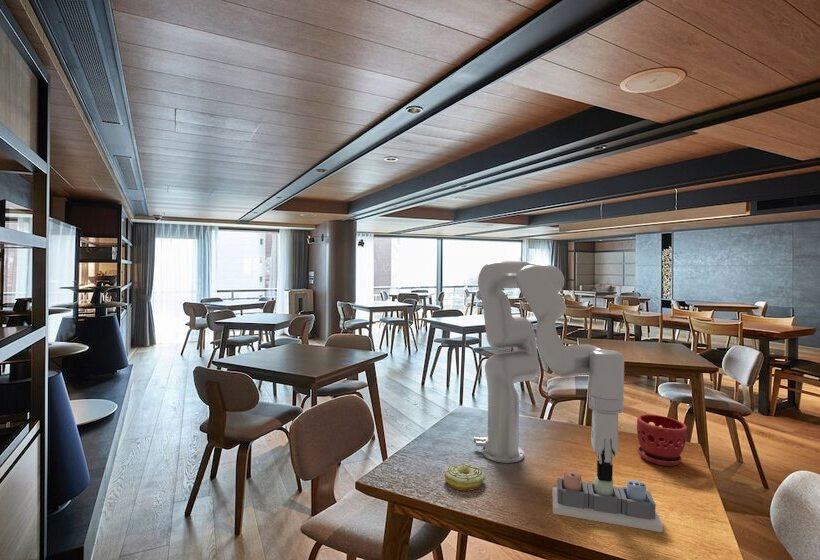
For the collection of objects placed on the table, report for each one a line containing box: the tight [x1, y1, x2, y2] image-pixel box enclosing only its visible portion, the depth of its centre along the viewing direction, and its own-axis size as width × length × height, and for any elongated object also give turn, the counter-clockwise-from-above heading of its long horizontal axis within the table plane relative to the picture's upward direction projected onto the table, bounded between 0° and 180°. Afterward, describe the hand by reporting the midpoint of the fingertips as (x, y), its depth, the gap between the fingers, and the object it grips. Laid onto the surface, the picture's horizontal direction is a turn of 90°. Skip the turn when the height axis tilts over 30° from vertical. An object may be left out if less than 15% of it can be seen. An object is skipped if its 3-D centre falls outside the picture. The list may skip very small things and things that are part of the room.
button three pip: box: [626, 479, 647, 502], centre depth 101 cm, size 4×4×5 cm
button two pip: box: [594, 475, 614, 497], centre depth 103 cm, size 4×4×5 cm
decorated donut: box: [444, 462, 486, 492], centre depth 116 cm, size 10×11×4 cm
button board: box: [552, 477, 664, 533], centre depth 103 cm, size 23×10×5 cm, turn 72°
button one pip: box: [563, 470, 582, 492], centre depth 105 cm, size 4×4×5 cm
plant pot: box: [636, 414, 688, 466], centre depth 131 cm, size 13×13×12 cm
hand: (604, 478), depth 103 cm, fingers closed
